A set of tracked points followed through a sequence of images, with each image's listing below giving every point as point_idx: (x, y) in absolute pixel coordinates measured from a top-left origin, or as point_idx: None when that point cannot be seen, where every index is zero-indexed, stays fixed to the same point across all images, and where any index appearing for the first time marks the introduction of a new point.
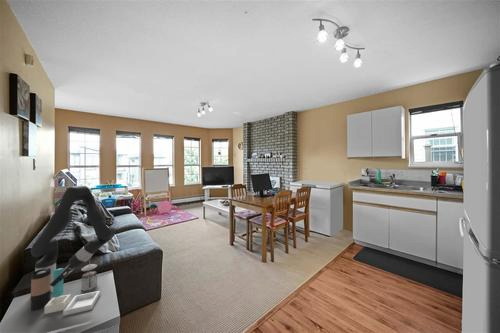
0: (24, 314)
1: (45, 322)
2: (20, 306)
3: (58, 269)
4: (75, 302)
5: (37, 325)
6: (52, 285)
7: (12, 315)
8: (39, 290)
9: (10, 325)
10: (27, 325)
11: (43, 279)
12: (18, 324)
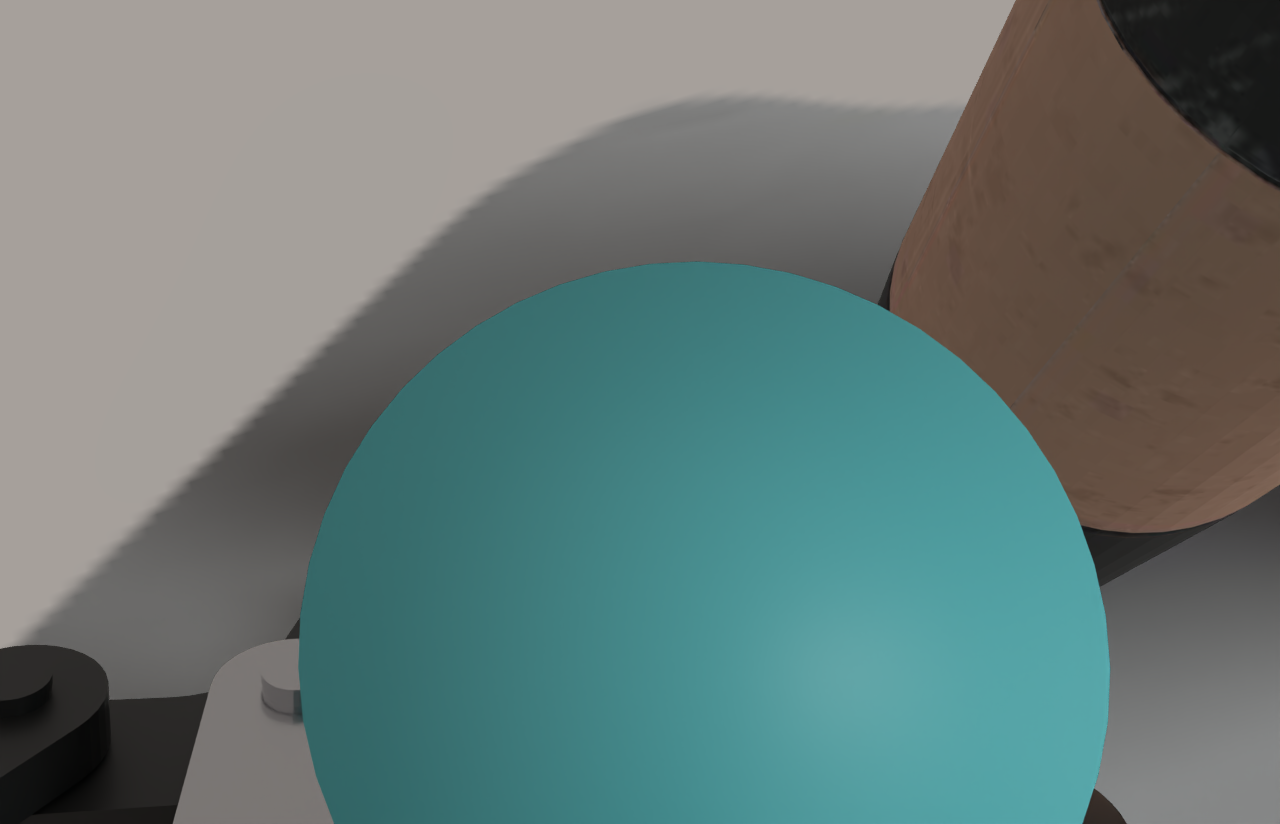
0: (858, 279)
1: (198, 683)
2: None
3: (801, 599)
4: None
5: (202, 565)
6: None
7: (956, 124)
8: (928, 255)
9: (586, 175)
10: (357, 407)
11: (1088, 127)
12: (523, 272)
